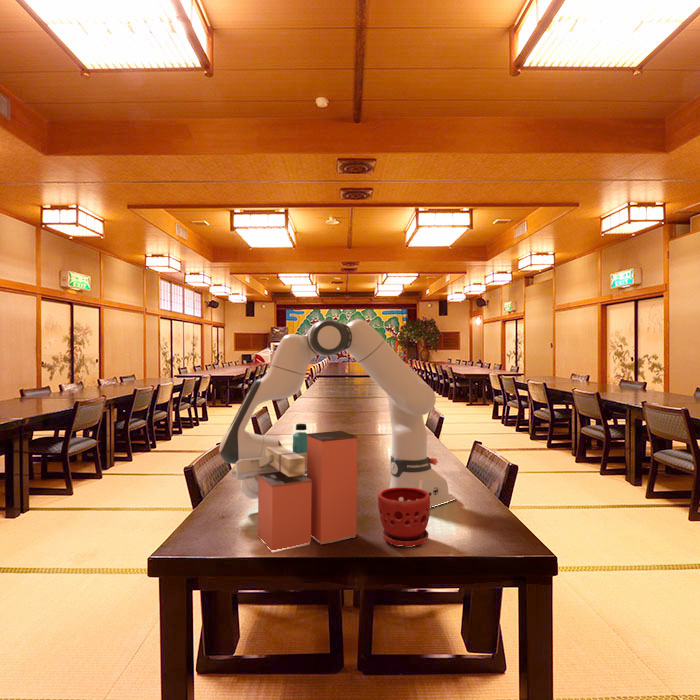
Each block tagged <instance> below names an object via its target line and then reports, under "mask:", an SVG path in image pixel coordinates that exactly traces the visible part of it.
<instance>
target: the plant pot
mask: <svg viewBox="0 0 700 700" xmlns="http://www.w3.org/2000/svg"><path fill="white" fill-rule="evenodd" d="M400 497H403V501H399V498H400ZM416 499H418V500H416ZM407 500H411V501H407ZM377 504H378V505H377V507H378V512H379V519H380V523H381V525H382V528H383V530H382V532H381V534H382V535H381V536H382V538H383V539H384V540H385V542H387V543H388V542H389V544H390V543H392V544H395V545H403V546H413V545H419V544H421V545H423V544H424V543H426V542H427V541H428V539H429V532H428V530H427V527H428V524H429V519H430V513H431V509H430V495H429V493H428V492H426V491H425V490H422V489H418V488H411V487H395V488H390V487H389V488H384V489H382V490H381V491H379V492H378V494H377ZM422 543H423V544H422ZM392 544H391V545H392ZM419 546H420V545H419Z"/></svg>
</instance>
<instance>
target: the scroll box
mask: <svg viewBox="0 0 700 700" xmlns="http://www.w3.org/2000/svg"><path fill="white" fill-rule="evenodd" d="M272 454H273V456H274V457H273V458H274V462H273V463H269V464H270V465H271V466H273V467H274V468H276V469H277V470H279V471H280V472H282V473H284V474H285V475H287V476H288V477H291V476H298V475H304V476H306V474H305V458H304V457H302V456H300V455H298V454H296V453H295V452H293V450H290V449H288V448H286V447H283V446H272V447H266V456H267V455H272Z"/></svg>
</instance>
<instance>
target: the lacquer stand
mask: <svg viewBox="0 0 700 700" xmlns="http://www.w3.org/2000/svg"><path fill="white" fill-rule="evenodd" d="M357 508H358V435H354V434H352V433H349V432H346V431H343V430H335V431H334V430H333V431H323V432H321V431H320V432H312V433H311V432H310V433H307V474H306V475H298V476H291V477H288V476H287V475H285V474H284V473H282V472H280V471H279V472H271V473H263V474H258V498H257V537H258V536H259V537H260V538H261V539H262V540H263V541H264V542H265V543H266V545H267V546H268V547H269V548H270V549H271V550H277V549H282V548H287V547H292V546H296V545H300V544H304V543H308V542H311V543H312V537H311V535H312V536H314V537H315V538H316V539H317V540H319V541H320V542H326V541H331V540H334V539H339V538H344V537H348V536H354V535H358V532H357V531H358V529H357V524H358V520H357V517H358V514H357V513H358V509H357ZM259 537H258V538H259ZM260 538H259V539H260Z"/></svg>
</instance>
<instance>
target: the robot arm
mask: <svg viewBox="0 0 700 700" xmlns="http://www.w3.org/2000/svg"><path fill="white" fill-rule="evenodd" d="M343 351H346V352H347V353H349V354H350V355H351V356H352V357H353V358H354V359H355V361H356V362H357V363H358V365H359V366H360V367H361V368H362V369H363V370H364V371H365V372H366V373H367V375H368V376H369V377H370V379H372V381H373V382H374V383H376V384H377V386H378V387H380V388H381V389H382V390H383V391H384V392H385V393H386V396H387V399H388V409H389V417H390V424H391V432H392V433H391V456H390V473H391V474H390V482H389V488H395V487H411V488H418V489H422V490H425V491H426V492H428V493H429V495H430V507H432V506H435V505H438V504H441V503H444V502H447V501H450V500H453V499H456V500H457V497H456V496H455V495H454V494H453V493H452V492H450V491H449V486H448V485H449V484H448V481H447V480H446V479H445V478H444V477H443V476H442V475H441V474H440V473H438V471H436V470H434V468H432V465H434V466H435V465H436V466H437V464H438V463H439V461H438V459H437V458H434V457H429V456H428V431H427V429H426V425H425V422H424V415H427V414H429V413H431V411H432V410H433V408H434V407H435V404H436V399H437V398H436V394H435V391H434V389H433V388H432V387H431V386H430V385H429V384H427V382H426V381H424V380H423V378H422V377H421V376H420V375H419V374H418V373H417V372H416V371H414V369H412V367H411V366H409V365H408V364H407V362H405V361H404V360H403V359H402V358H401V357H400V356H399V355H398V353H397V352H396V351H395V350H394V349H393V348H392V347H391V346H390V344H389V343H388V342H387V341H386V340H385V339H384V338H383V336H382V335H381V334H380V333H379V332H378V331H377V330H376V329H375V328H374V327H373V326H371V325H370V324H369V323H368V322H367V321H366V320H363V319H362V318H361V319H359V318H356V319H354V320H353V319H352V320H351V321H349V322H348V323H347V324H344V323H342V322H339V321H336V320H333V319H323V320H319V321H316V322H315V323H313V324H312V326H311V327H309V329H308V330H307V331H305V333H304V334H303V335H301V334H297V333H289V334H285V335H284V336H283V337H282V338H281V340H280V341H279V343H278V345H277V347H276V349H275V351H274V354H273V357H272V360H271V362H270V366H269V369H268V370H267V372H266V373H265V374H264V376H262V377H261V378H258V379H256V380H255V381H253V383H252V385H250V387H249V389H248V390H247V393H246V394H245V396H244V398H243V400H242V402H241V404H240V406H239V408H238V410H237V412H236V414H235V416H234V418H233V420H232V422H231V423H230V426H229V427H228V429H227V431H226V433H225V434H224V436H223V437H222V439H221V441H220V443H219V451H218V453H219V455H220V457H221V458H222V460H223V461H224V463H226V464H231V465H234V470H233V471H231V473H230V477H231V478H233V477H234V478H235V479H236V480H237V481H241V482H240V492H241V493H242V494H243V495H244V496H245V497H246V498H248V499H250V500H251V499H252V500H255V499H256V500H258V474H263V473H271V472H279V470H277V469H276V468H274V467H273V466H271V465H270V464H269V463H273V462H274V458H273V457H274V456H273V454H272V455H267V456H266V447H272V446H282V443H281V441H280V440H279V439H278V438H275V437H271V436H267V435H264V434H257V433H253V432H249V431H246V428H247V426H248V424H249V422H250V420H251V418H252V416H253V414H254V411H255V410H256V408H257V407H258V406H259V405H260V404H262V403H265V402H268V401H275V400H276V401H277V400H283V399H287V398H291V397H292V396H294V395H296V394H297V393H299V391H300V390H301V389H302V386H303V383H304V381H305V378H306V374H307V371H308V367H309V365H310V363H311V360H312V359H313V358H315V357H317V356H321V357H330V356H334V355H337V354H339V353H341V352H343ZM282 447H283V446H282ZM298 455H300V456H302V457H304V458H305V471H306V470H307V453H300V454H298ZM416 500H418V499H416ZM399 501H403V497H400V498H399ZM407 501H411V500H407Z"/></svg>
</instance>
